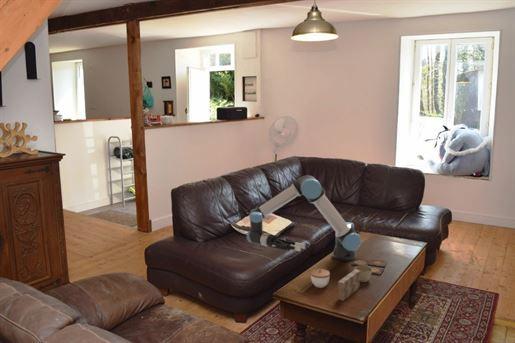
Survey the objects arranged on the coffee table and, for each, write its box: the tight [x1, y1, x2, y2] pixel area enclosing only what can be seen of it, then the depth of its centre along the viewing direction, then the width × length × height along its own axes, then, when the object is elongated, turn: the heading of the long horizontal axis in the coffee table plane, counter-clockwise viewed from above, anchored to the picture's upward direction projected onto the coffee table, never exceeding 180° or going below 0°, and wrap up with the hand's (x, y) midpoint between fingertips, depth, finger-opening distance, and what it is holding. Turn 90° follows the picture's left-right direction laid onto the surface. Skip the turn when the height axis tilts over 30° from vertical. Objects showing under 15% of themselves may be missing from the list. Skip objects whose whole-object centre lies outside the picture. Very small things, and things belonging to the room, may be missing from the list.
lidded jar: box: [310, 268, 331, 289], centre depth 255 cm, size 11×11×9 cm
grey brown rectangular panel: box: [337, 268, 361, 302], centre depth 244 cm, size 20×3×10 cm, turn 143°
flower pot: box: [354, 265, 373, 283], centre depth 260 cm, size 10×10×7 cm
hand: (302, 247), depth 259 cm, fingers open, 4 cm apart
